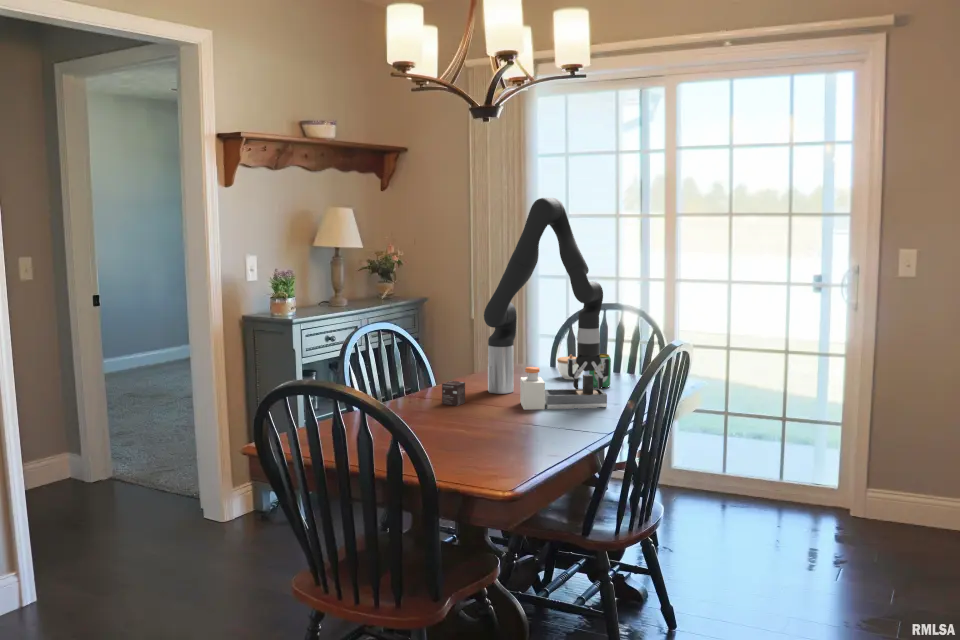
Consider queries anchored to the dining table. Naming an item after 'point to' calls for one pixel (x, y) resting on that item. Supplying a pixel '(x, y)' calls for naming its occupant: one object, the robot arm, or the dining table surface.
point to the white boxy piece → (532, 393)
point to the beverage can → (601, 367)
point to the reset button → (532, 373)
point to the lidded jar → (566, 367)
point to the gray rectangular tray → (574, 399)
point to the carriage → (587, 386)
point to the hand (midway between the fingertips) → (588, 388)
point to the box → (453, 393)
